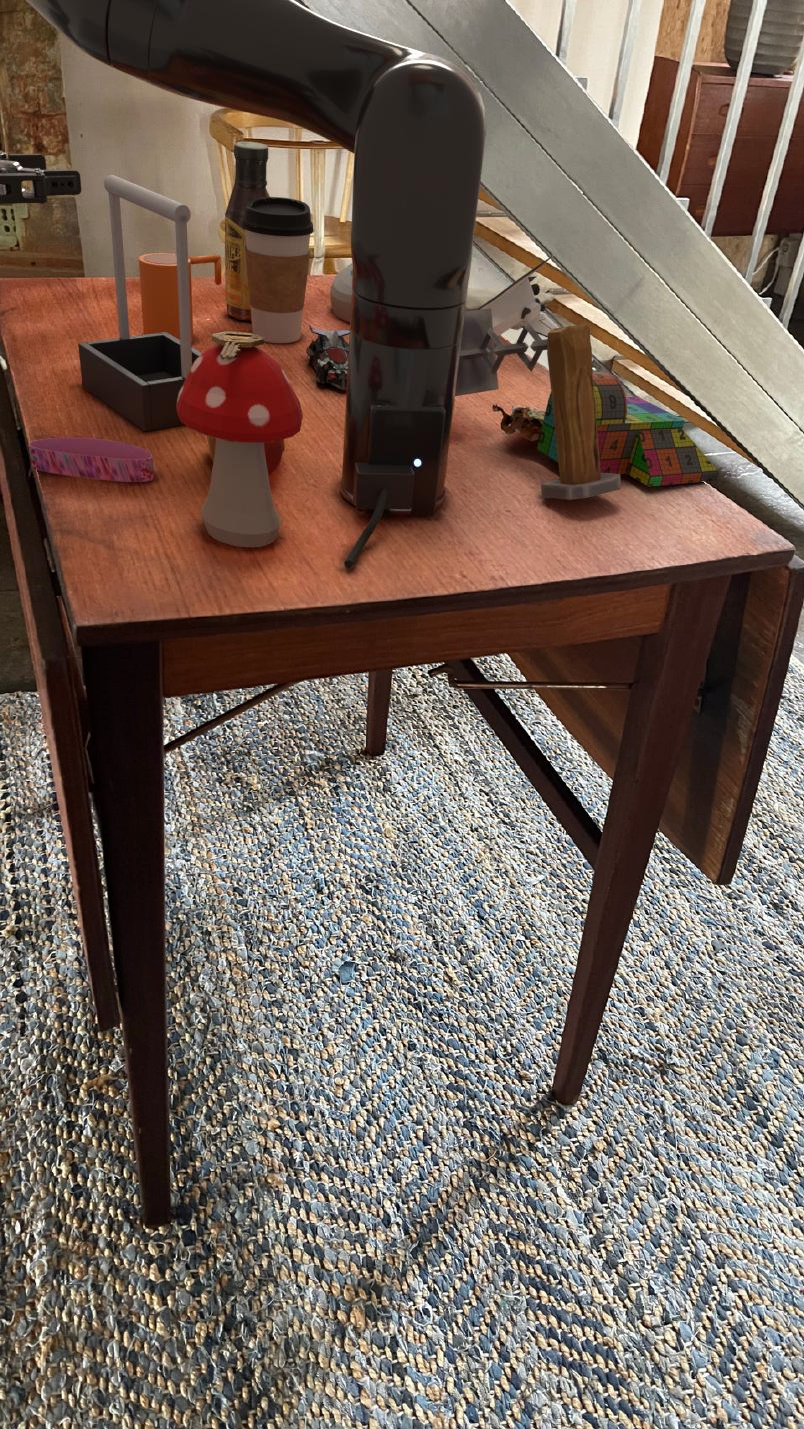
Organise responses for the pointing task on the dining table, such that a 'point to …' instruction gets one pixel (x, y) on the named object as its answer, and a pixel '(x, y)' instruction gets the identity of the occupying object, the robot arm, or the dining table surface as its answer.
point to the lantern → (568, 392)
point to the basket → (148, 365)
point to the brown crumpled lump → (522, 421)
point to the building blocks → (636, 439)
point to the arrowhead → (484, 295)
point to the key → (235, 342)
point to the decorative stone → (342, 293)
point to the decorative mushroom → (240, 438)
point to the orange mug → (166, 291)
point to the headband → (92, 459)
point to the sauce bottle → (245, 189)
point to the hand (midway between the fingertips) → (61, 173)
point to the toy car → (330, 357)
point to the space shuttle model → (519, 307)
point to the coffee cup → (277, 265)
